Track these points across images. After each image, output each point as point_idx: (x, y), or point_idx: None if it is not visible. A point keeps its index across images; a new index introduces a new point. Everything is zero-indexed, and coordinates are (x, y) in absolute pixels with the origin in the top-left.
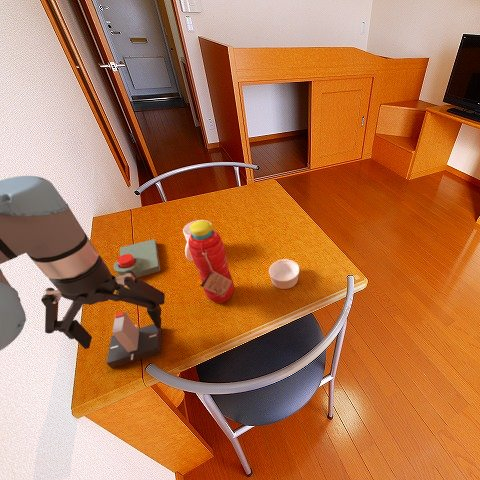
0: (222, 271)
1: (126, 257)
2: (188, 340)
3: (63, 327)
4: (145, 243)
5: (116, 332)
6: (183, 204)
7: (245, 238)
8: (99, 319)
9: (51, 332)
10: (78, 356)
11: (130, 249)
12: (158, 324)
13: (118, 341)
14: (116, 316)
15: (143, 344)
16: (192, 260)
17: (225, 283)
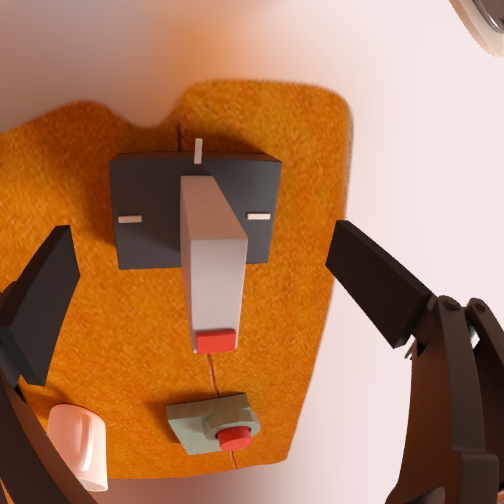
0: None
1: (233, 446)
2: (39, 178)
3: (456, 319)
4: (204, 450)
5: (224, 236)
6: (157, 477)
7: None
8: (294, 320)
9: (472, 301)
10: None
11: None
12: (47, 240)
13: (247, 235)
14: (230, 337)
15: (160, 192)
16: (83, 418)
17: None
